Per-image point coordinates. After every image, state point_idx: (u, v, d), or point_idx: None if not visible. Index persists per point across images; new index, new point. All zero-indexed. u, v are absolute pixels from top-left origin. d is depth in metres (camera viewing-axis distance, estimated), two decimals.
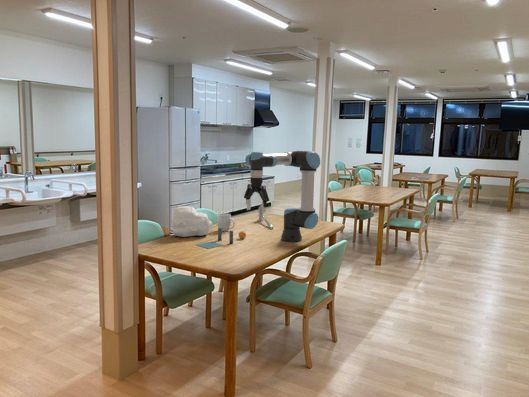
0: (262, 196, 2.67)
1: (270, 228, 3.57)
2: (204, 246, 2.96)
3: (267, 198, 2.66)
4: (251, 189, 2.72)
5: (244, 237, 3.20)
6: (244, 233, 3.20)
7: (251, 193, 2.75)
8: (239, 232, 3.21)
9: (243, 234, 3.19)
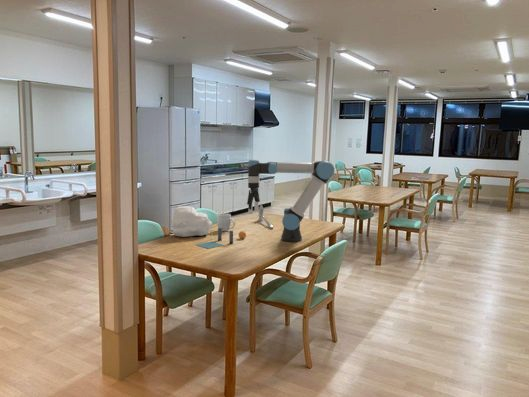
0: None
1: (270, 228, 3.57)
2: (204, 246, 2.96)
3: (249, 201, 2.97)
4: None
5: (244, 237, 3.20)
6: (244, 233, 3.20)
7: (254, 196, 3.10)
8: (239, 232, 3.21)
9: (243, 234, 3.19)
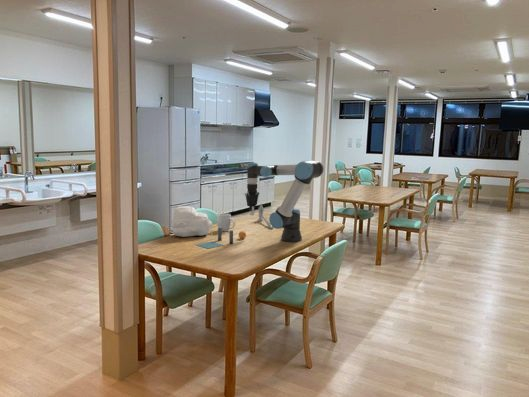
0: None
1: (270, 228, 3.57)
2: (204, 246, 2.96)
3: (248, 204, 3.22)
4: None
5: (244, 237, 3.20)
6: (244, 233, 3.20)
7: None
8: (239, 232, 3.21)
9: (243, 234, 3.19)
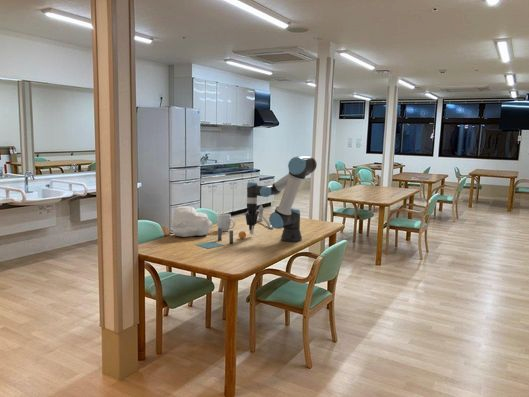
0: None
1: (270, 228, 3.57)
2: (204, 246, 2.96)
3: (247, 223, 3.24)
4: None
5: (244, 237, 3.20)
6: (244, 233, 3.20)
7: None
8: (239, 232, 3.21)
9: (243, 234, 3.19)
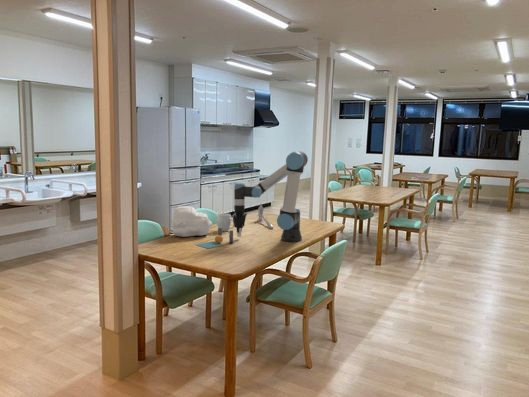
0: None
1: (270, 228, 3.57)
2: (204, 246, 2.96)
3: (235, 225, 3.15)
4: None
5: (222, 239, 3.06)
6: (219, 239, 3.04)
7: None
8: (215, 240, 3.06)
9: (219, 240, 3.04)
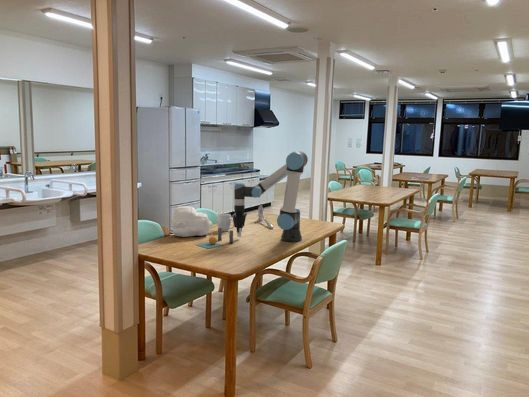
0: None
1: (270, 228, 3.57)
2: (204, 246, 2.96)
3: (235, 225, 3.15)
4: None
5: (214, 238, 3.01)
6: (214, 243, 3.02)
7: None
8: None
9: (216, 241, 3.02)
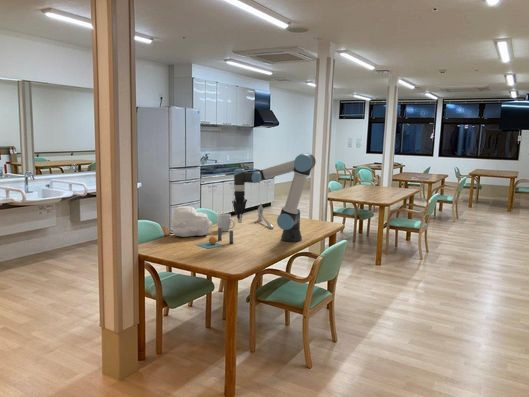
0: None
1: (270, 228, 3.57)
2: (204, 246, 2.96)
3: (235, 211, 3.14)
4: None
5: (214, 238, 3.01)
6: (214, 243, 3.02)
7: None
8: None
9: (216, 241, 3.02)
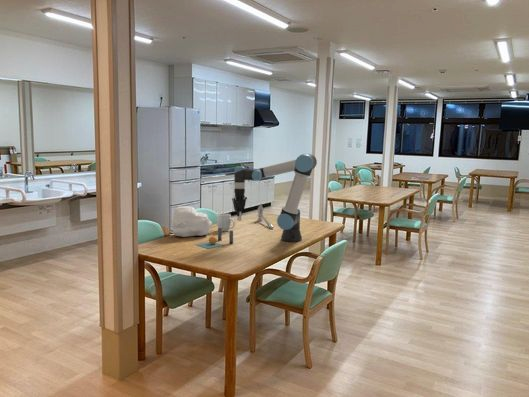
0: None
1: (270, 228, 3.57)
2: (204, 246, 2.96)
3: (235, 209, 3.14)
4: None
5: (214, 238, 3.01)
6: (214, 243, 3.02)
7: None
8: None
9: (216, 241, 3.02)
